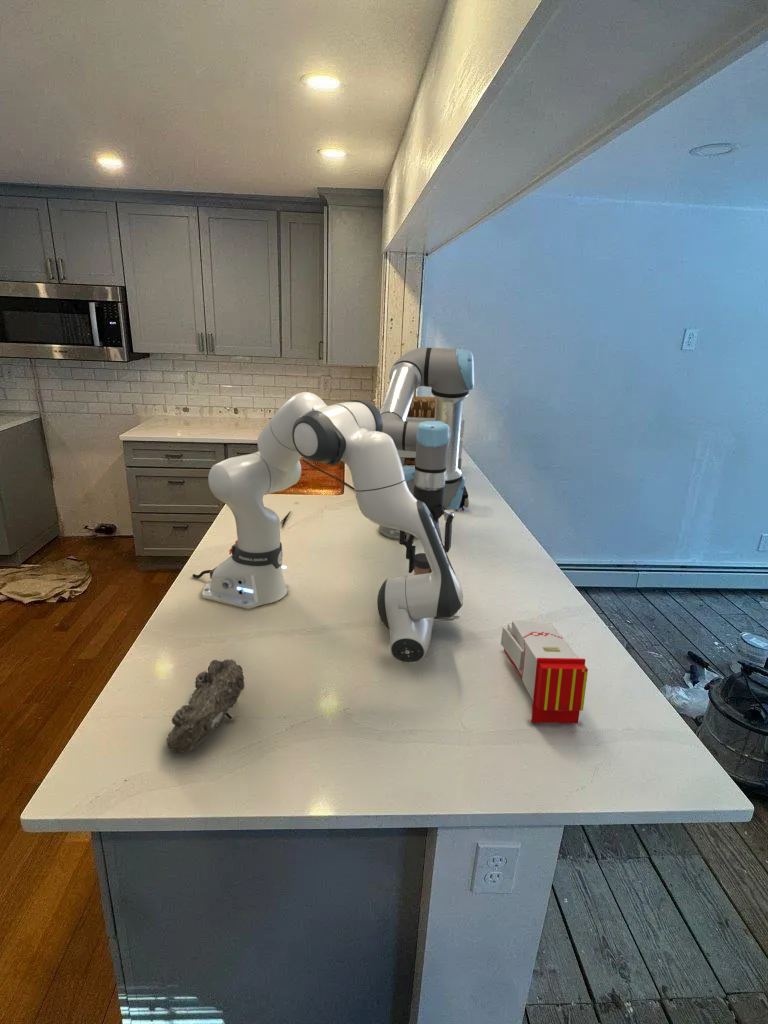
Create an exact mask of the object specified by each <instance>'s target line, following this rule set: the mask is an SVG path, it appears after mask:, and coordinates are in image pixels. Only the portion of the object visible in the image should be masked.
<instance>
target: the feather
mask: <svg viewBox="0 0 768 1024" xmlns="http://www.w3.org/2000/svg"><path fill="white" fill-rule="evenodd" d="M291 511H292V510H290V511H289V512H288V513H287V514H286V515H285V516H284V518H283V519H282V520H281V521H280V524H282V528H283V527H284V526H285V524H286V521H287V519H288V517H289V515H290V514H291Z"/></svg>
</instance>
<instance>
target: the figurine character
mask: <svg viewBox="0 0 768 1024" xmlns="http://www.w3.org/2000/svg"><path fill="white" fill-rule="evenodd" d="M469 505H470V500H469V492H468V490H467V488H466V485H464V489H463V494H462V499H461V502H460V506H459V508H458V509H461V511H462V512H464V511H465V508H469ZM458 509H456V510H455V511H456V512H457V511H458Z"/></svg>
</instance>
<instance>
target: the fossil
mask: <svg viewBox="0 0 768 1024" xmlns="http://www.w3.org/2000/svg"><path fill="white" fill-rule="evenodd" d="M243 670H244V669H243V667H242V665H240V664H237V662H236V661H235V660H234V659H232V658H231V659H227V658H226V659H224V660H223V661H222V660H217V659H212V660H211V661H210V663H209V665H208V666H207V671H201V672H199V673H198V674H197V675H196V676H195V680H194V684H195V685H194V687H195V689H194V690H193V693H192V694H191V697H190V698H189V700H188V704H184V705H182V706H181V707H180V709H177V710H176V711H175V713H174V715H173V716H172V718H171V723H172V724H173V727H172V730H171V731H170V732H168V734H167V738H166V741H167V742H166V745H167V749H168V750H169V751H173V752H174V753H176V754H178V753H182V752H188V751H189V752H192V751H193V750H195V748H196V747H197V746H199V744H200V743H201V742H203V741H204V740H205V739H206V738H207V737H208V736H209V735H210V734H211V733H212V732H214V730H215V729H217V727H218V726H219V724H220V722H221V721H222V720H223V719H224V718H225V716H226V717H227V719H229V720H233V717H232V715H230V714H229V710H230V709H231V708H234V706H235V704H236V703H237V702H238V699H239V697H240V695H241V693H242V691H243V690H245V689H244V688H245V675H244V671H243Z"/></svg>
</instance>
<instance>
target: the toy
mask: <svg viewBox="0 0 768 1024" xmlns="http://www.w3.org/2000/svg"><path fill="white" fill-rule="evenodd" d="M500 645H501V646H502V648H503V652H504V654H505V655H506V657H507V658H508V660H509V661H510V663H511V664H512V666H513V668H514V669H515V671H516V672H517V674H518V676H519V677H520V679H521V680H522V683H523V685H524V686H525V688H526V690H527V692H528V694H529V696H530V697H531V699H532V708H531V719H530V722H531V723H532V724H579V719H580V712H583V711H584V706H585V697H586V689H587V680H588V671H589V669H588V667H587V666H586V659H585V658H580V657H579V656H578V655H577V654H576V652H575V651H574V650H573V648H572V647H571V646H570V645H569V644H568V642H567V641H566V640H565V638H564V637H563V636H562V634H561V633H560V632H559V631H558V630H557V628H556V627H555V626H554V624H553V623H552V622H551V621H549V620H548V621H545V620H540V621H539V620H511V622H508V623H507V626H502V632H501V638H500Z"/></svg>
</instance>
